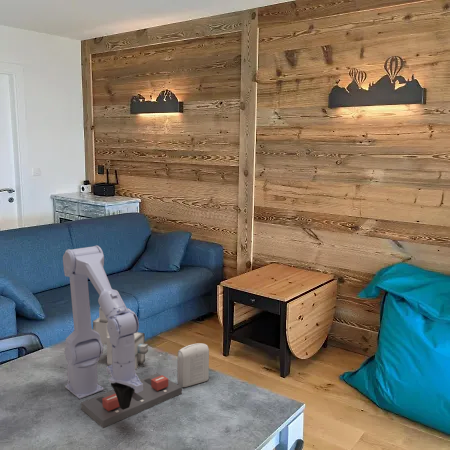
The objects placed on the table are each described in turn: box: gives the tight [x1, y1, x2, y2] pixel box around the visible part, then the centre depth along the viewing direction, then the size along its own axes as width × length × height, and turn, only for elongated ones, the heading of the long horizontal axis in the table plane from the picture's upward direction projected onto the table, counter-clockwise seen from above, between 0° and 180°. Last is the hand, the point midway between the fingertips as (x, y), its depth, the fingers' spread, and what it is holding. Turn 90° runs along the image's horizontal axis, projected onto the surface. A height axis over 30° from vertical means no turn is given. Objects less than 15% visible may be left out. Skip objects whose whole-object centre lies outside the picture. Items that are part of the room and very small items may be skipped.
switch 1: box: [102, 394, 120, 411], centre depth 132 cm, size 3×4×2 cm
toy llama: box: [92, 307, 149, 371], centre depth 161 cm, size 8×18×20 cm, turn 72°
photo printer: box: [176, 342, 210, 388], centre depth 150 cm, size 10×4×12 cm, turn 123°
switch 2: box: [151, 374, 169, 391], centre depth 143 cm, size 3×4×2 cm
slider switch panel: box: [80, 372, 183, 429], centre depth 139 cm, size 12×26×2 cm, turn 134°
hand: (124, 407), depth 127 cm, fingers closed
